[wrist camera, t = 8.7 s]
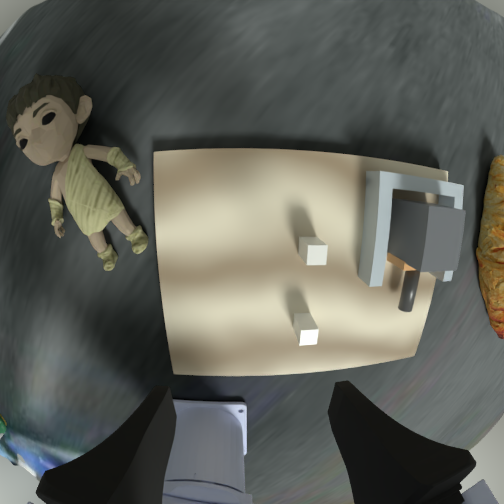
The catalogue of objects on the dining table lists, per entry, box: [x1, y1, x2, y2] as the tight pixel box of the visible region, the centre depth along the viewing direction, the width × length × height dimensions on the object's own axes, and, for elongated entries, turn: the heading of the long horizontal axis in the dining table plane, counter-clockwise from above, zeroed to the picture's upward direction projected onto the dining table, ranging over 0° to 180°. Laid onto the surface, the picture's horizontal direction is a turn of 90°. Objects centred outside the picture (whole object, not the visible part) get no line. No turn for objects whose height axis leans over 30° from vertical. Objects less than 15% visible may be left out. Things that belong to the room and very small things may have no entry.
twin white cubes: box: [293, 236, 328, 346], centre depth 18 cm, size 7×1×2 cm, turn 179°
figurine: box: [6, 73, 148, 271], centre depth 15 cm, size 8×6×15 cm
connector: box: [387, 198, 466, 312], centre depth 16 cm, size 8×4×4 cm, turn 179°
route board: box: [154, 148, 448, 376], centre depth 19 cm, size 17×22×1 cm
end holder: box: [358, 171, 464, 287], centre depth 17 cm, size 8×8×2 cm
